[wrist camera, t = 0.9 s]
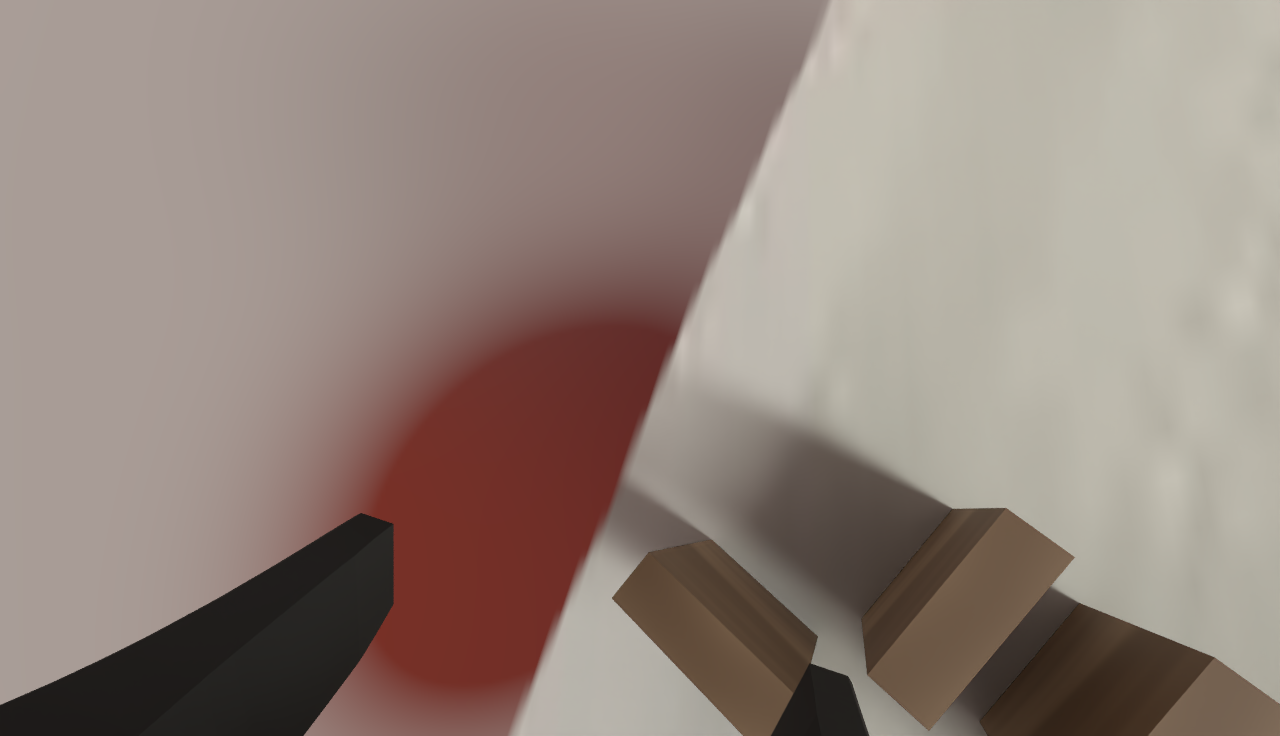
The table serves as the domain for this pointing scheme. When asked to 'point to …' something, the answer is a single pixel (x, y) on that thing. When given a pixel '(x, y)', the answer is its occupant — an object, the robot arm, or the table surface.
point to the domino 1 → (720, 631)
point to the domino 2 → (956, 606)
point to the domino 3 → (1127, 688)
